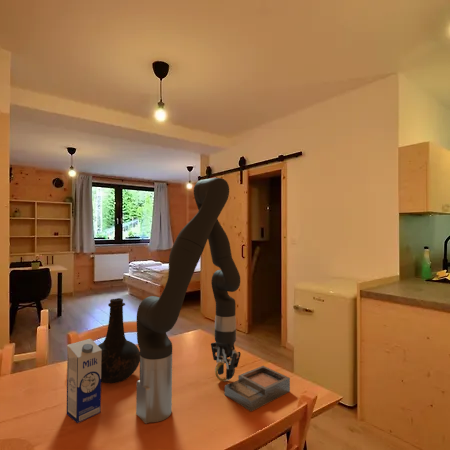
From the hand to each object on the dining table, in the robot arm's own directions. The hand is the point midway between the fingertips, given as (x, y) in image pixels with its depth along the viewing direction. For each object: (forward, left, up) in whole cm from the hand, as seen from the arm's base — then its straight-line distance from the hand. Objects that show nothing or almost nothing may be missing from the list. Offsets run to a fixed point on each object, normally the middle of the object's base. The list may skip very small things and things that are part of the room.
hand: (224, 376), depth 111 cm
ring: (0, 0, -2) cm, 2 cm away
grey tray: (+3, -13, -2) cm, 13 cm away
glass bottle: (-29, +27, -2) cm, 40 cm away
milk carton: (-44, +11, -2) cm, 45 cm away
